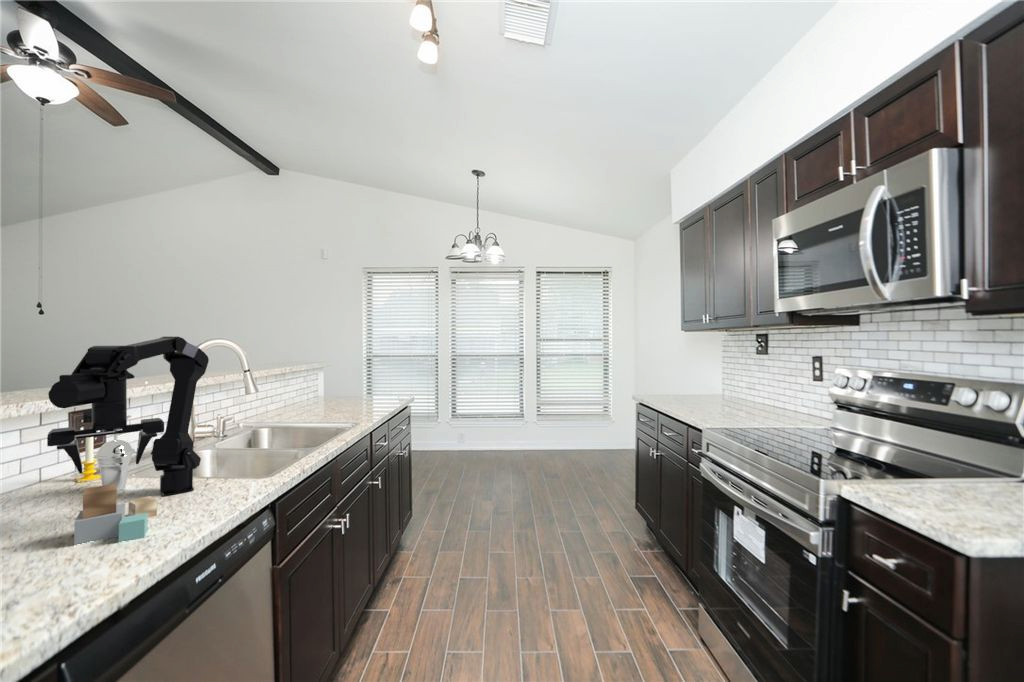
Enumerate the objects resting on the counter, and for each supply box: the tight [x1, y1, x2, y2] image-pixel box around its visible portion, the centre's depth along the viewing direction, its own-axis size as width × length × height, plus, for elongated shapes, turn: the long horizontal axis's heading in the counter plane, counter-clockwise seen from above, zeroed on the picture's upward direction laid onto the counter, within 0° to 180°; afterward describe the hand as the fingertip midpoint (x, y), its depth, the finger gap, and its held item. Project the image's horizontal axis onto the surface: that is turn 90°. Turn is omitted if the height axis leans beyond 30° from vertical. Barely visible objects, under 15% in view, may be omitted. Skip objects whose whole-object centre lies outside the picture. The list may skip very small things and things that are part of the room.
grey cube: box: [73, 502, 126, 546], centre depth 88 cm, size 7×7×5 cm
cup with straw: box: [93, 414, 136, 492], centre depth 115 cm, size 8×9×20 cm
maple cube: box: [127, 495, 158, 519], centre depth 97 cm, size 4×4×4 cm
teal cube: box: [118, 513, 149, 543], centre depth 88 cm, size 4×4×4 cm
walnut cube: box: [82, 483, 117, 519], centre depth 88 cm, size 5×5×5 cm
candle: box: [76, 437, 101, 481], centre depth 123 cm, size 5×5×16 cm
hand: (109, 468), depth 94 cm, fingers open, 9 cm apart
